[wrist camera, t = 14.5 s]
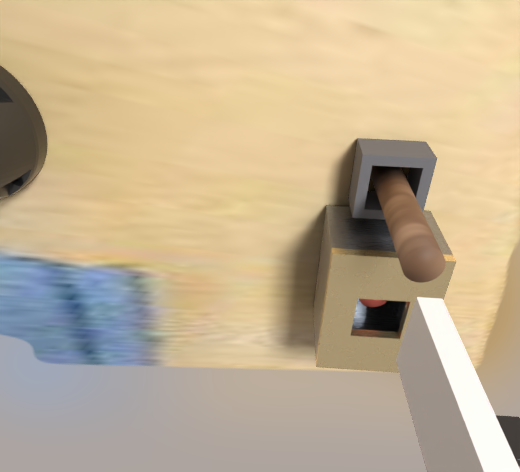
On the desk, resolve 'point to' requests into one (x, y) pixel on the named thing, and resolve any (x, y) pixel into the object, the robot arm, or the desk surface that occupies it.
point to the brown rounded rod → (407, 225)
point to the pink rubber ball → (372, 302)
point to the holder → (388, 155)
